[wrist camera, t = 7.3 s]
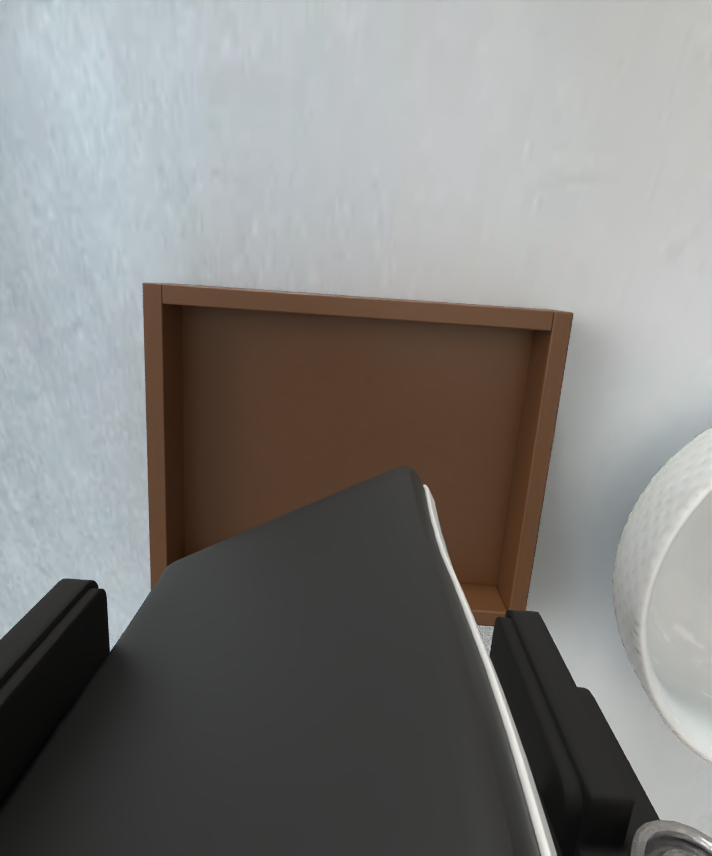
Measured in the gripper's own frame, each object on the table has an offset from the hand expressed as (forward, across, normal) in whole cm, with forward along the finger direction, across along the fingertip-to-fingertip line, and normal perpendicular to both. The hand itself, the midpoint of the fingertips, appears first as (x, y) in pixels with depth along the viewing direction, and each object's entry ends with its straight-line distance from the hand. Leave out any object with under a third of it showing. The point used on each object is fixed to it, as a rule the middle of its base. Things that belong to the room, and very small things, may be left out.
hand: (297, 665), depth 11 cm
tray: (+17, 0, +1) cm, 17 cm away
